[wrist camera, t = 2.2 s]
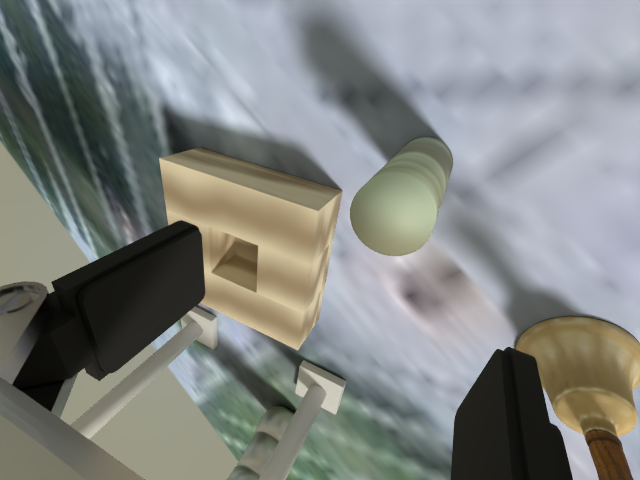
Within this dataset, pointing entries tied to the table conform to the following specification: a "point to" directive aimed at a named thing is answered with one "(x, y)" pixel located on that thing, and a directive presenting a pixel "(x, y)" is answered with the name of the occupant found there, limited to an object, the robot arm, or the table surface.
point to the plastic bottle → (262, 444)
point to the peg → (403, 198)
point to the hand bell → (589, 382)
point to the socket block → (256, 238)
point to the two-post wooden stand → (202, 327)
